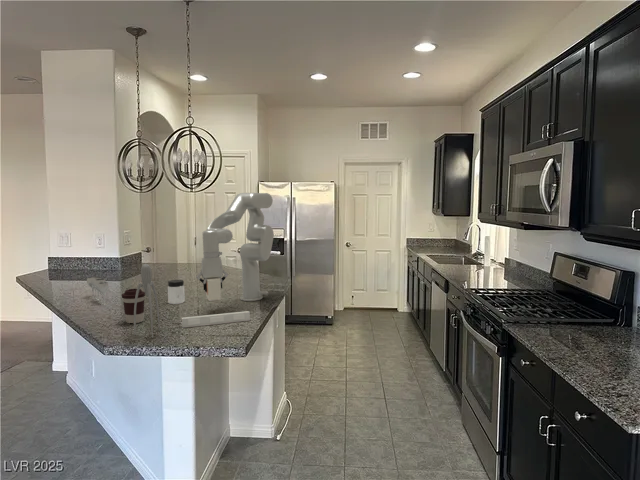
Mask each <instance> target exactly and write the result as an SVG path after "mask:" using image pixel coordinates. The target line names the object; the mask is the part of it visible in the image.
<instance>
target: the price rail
mask: <svg viewBox="0 0 640 480" xmlns="http://www.w3.org/2000/svg"><path fill="white" fill-rule="evenodd" d="M250 315H251V313H250V311H249V310H248V311H247V310H246V311H244V310H243V311H237V312H236V311H235V312H225V313H218V314H217V313H215V314H206V315H197V316H187V317H186V316H185V317H181V328H182V329H183V328H192V327H203V326H210V325H221V324H228V323H231V324H232V323H239V322H246V321H247V322H248V321H250V320H251V319H250V318H251V316H250Z"/></svg>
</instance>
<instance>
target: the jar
mask: <svg viewBox="0 0 640 480" xmlns="http://www.w3.org/2000/svg"><path fill="white" fill-rule="evenodd" d="M185 296H186V294H185V284H184V279H172V280H171V279H170V280H168V281H167V299H168V300H167V301H168V302H167V303H168V304H171V305H178V304H183V303H184V302H186V297H185Z"/></svg>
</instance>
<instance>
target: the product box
mask: <svg viewBox="0 0 640 480" xmlns="http://www.w3.org/2000/svg"><path fill="white" fill-rule="evenodd" d="M206 284H207V292H205V296H206V298H207V300H208V301H209V302H210V301H221V300H222V288H221V281H220V278H207V281H206Z"/></svg>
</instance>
